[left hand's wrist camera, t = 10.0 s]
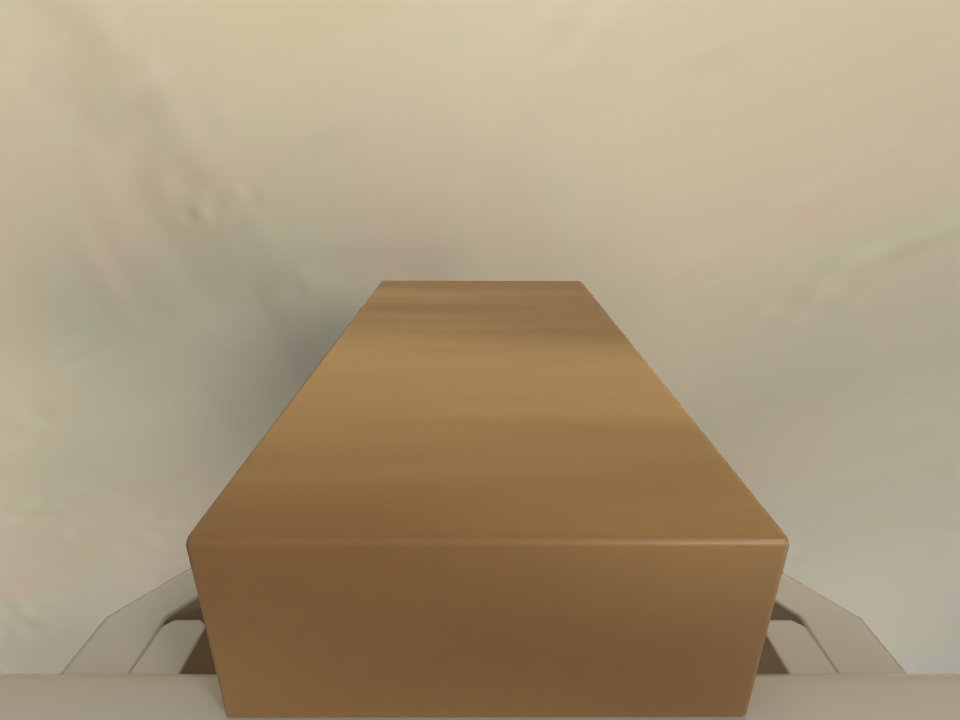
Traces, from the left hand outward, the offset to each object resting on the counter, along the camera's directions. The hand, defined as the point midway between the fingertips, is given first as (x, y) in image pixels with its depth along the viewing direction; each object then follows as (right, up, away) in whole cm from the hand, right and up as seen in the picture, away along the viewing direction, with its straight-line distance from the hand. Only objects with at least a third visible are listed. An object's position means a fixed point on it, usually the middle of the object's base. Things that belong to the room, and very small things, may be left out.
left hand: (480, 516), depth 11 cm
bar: (0, -7, +7) cm, 10 cm away
